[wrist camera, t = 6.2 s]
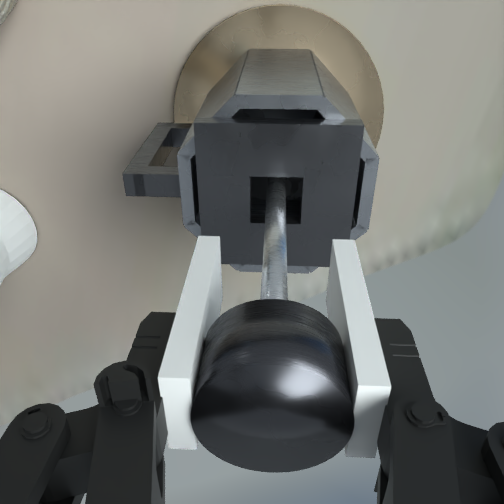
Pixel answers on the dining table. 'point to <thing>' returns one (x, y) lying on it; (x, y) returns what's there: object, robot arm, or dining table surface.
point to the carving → (6, 8)
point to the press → (270, 135)
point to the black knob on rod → (273, 360)
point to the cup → (14, 234)
